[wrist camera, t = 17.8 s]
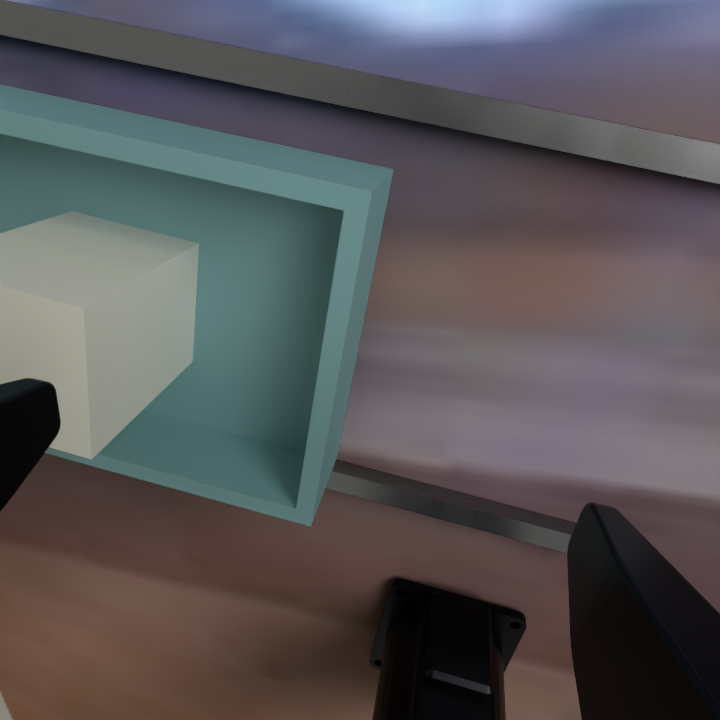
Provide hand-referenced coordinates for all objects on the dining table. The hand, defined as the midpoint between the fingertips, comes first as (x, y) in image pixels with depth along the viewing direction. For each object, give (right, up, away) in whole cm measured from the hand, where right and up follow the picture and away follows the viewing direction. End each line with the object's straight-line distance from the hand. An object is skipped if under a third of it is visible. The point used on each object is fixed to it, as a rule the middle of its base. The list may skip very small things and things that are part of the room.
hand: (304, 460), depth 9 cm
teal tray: (-7, +5, +12) cm, 15 cm away
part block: (-7, +4, +10) cm, 13 cm away
